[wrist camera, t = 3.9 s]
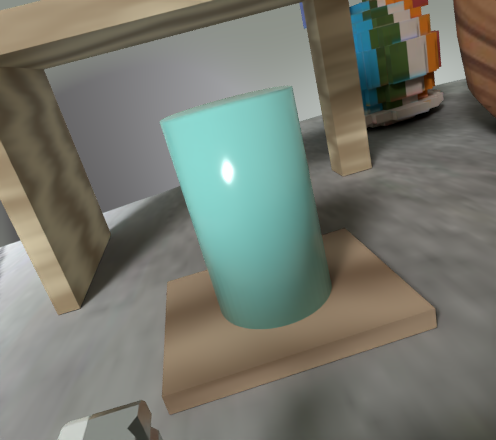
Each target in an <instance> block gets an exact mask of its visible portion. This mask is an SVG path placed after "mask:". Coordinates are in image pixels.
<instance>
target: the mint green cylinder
mask: <svg viewBox="0 0 496 440" xmlns="http://www.w3.org/2000/svg"><path fill="white" fill-rule="evenodd" d="M160 124H161V127H162V130H163V134H164V137H165V140H166V143H167V146H168V149H169V152H170V155H171V158H172V161H173V164H174V167H175V170H176V174H177V177H178V180H179V183H180V186H181V189H182V192H183V195H184V198H185V201H186V205H187V208H188V211H189V214H190V217H191V220H192V223H193V226H194V229H195V232H196V235H197V239H198V242H199V245H200V248H201V251H202V254H203V257H204V260H205V263H206V266H207V269H208V272H209V276H210V279H211V282H212V285H213V288H214V291H215V294H216V297H217V300H218V303H219V306H220V310H221V313H222V314H223V316H224V317H225V318H226V320H228V321H229V322H230V323H232V324H234V325H236V326H239V327H243V328H248V329H272V328H278V327H282V326H286V325H289V324H292V323H295V322H298V321H300V320H302V319H304V318H306V317H308V316H310V315H311V314H313V313H314V312H316V311H317V310H318V309H319V308H320V307H321V306H322V305H323V304H324V303H325V302H326V301H327V299H328V298H329V295H330V293H331V289H332V284H331V279H330V274H329V269H328V264H327V259H326V254H325V249H324V244H323V239H322V234H321V229H320V224H319V219H318V214H317V209H316V204H315V199H314V194H313V189H312V184H311V179H310V174H309V169H308V164H307V158H306V153H305V148H304V143H303V138H302V133H301V128H300V123H299V119H298V113H297V109H296V104H295V98H294V93H293V88H292V86H281V87H274V88H269V89H263V90H258V91H254V92H249V93H245V94H241V95H237V96H233V97H229V98H225V99H222V100H218V101H214V102H211V103H207V104H204V105H200V106H197V107H194V108H191V109H188V110H185V111H182V112H179V113H176V114H174V115H171V116H169V117H166V118H165V119H162V120H161V121H160Z"/></svg>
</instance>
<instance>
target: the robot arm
mask: <svg viewBox="0 0 496 440" xmlns="http://www.w3.org/2000/svg"><path fill="white" fill-rule="evenodd" d="M58 440H163V439H162V437H161V435H160V432H159V430H157V429H155V428H153V427H151V412H150V410H149V408H148V406H147V404H146V402H145V401H142V400H140V401H137V402H133V403H130V404H126V405H123V406H120V407H116V408H113V409H110V410H106V411H103V412H99V413H96V414H93V415H92V416H87V417H84V418H81V419H77V420H74V421H71V422H67V423H66V424H65V426H64V427H63V428H62V429H61V432H60V435H59V438H58Z"/></svg>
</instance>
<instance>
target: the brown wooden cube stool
mask: <svg viewBox="0 0 496 440" xmlns="http://www.w3.org/2000/svg"><path fill="white" fill-rule="evenodd" d="M453 1H454V13H455V21H456V30H457V38H458V42H459V47H460V52H461V57H462V62H463V66H464V71H465V76H466V80H467V85H468V88H469V90H470V91H471V93H472V94H473V96H474V97H475V98H476V99H477V100H478V101H479V102H480V103H481V104H482V105H483V106H484V107H485V108H486V109H487V110H488V111H489V112H490V113H491V114H492V115H493V116H494V117H495V118H496V0H453Z"/></svg>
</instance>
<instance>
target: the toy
mask: <svg viewBox="0 0 496 440" xmlns="http://www.w3.org/2000/svg"><path fill="white" fill-rule="evenodd" d="M425 5H428V0H362V3H359V4H356V5H354V6H351V7H349V9H350V16H351V23H352V30H353V37H354V45H355V52H356V59H357V66H358V73H359V80H360V87H361V94H362V101H363V109H364V116H365V123H366V128H367V127H372V128H374V127H377V126H380V125H381V126H387V125H391V124H394V123H397V122H401V121H404V120H407V119H411V118H414V117H415V115H417V114H420V113H423V112H427V111H429V109H430V108H433V107H436V106H439V104H440V103H441V101H443V92H440V90H429V89H431V88H433V86H435V81H434V71H436V70H437V69H439V67H441V57H440V42H439V31H431V28H430V15H429V14H426V15H422V16H421V7H422V6H425ZM300 9H301V14H302V20H303V26H304V28H307V27H306V21H305V15H304V10H303V4H302V2H300Z"/></svg>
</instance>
